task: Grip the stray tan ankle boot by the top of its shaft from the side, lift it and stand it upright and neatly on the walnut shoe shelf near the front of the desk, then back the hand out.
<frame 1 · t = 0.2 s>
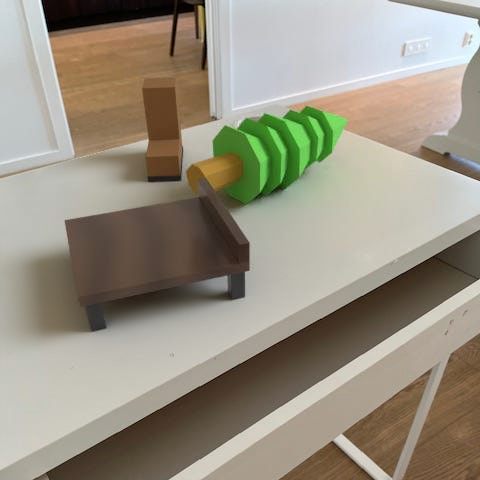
boot: (167, 157, 87), on the table
shoe shelf: (156, 275, 61), on the table
decorative tree: (279, 185, 79), on the table
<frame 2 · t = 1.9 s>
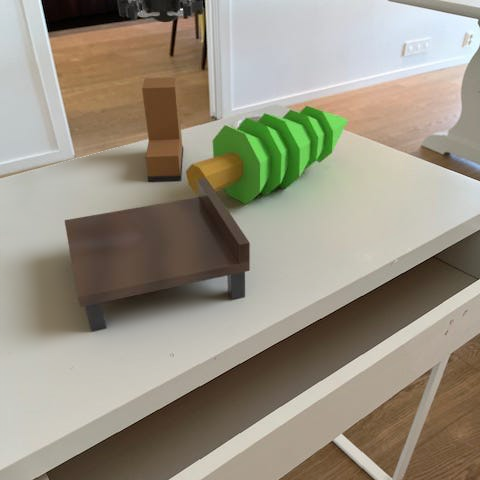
hand: (158, 12, 83), 19 cm above the table, tool horizontal, fingers open, 8 cm apart
nothing on the table moved.
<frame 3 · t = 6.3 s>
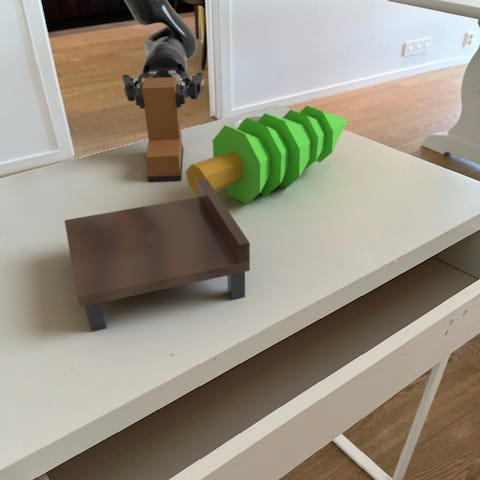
hand: (160, 101, 78), 10 cm above the table, tool horizontal, fingers closed on boot, 5 cm apart
boot: (167, 157, 87), on the table, touching gripper
everything else where it was.
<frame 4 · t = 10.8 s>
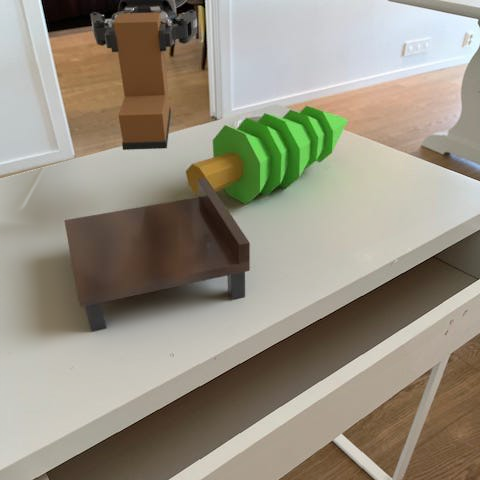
hand: (138, 42, 59), 22 cm above the table, tool horizontal, fingers closed on boot, 5 cm apart
boot: (150, 120, 68), point 12 cm above the table, touching gripper
everything else where it was.
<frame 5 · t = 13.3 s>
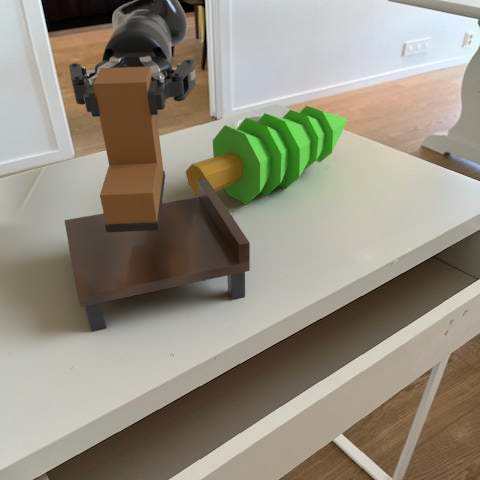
hand: (123, 105, 49), 20 cm above the table, tool horizontal, fingers closed on boot, 5 cm apart
boot: (140, 188, 58), point 10 cm above the table, touching gripper
everything else where it was.
when the fingers open (15 cm above the table, at t = 15.1 s): boot stays where it is, resting on shoe shelf.
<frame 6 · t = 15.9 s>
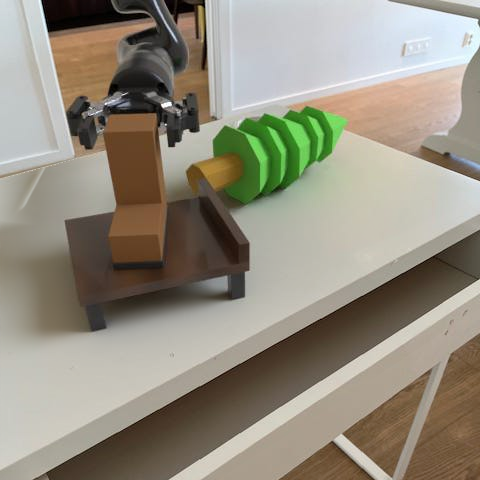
hand: (128, 139, 52), 16 cm above the table, tool horizontal, fingers open, 8 cm apart
boot: (145, 224, 61), point 5 cm above the table, touching shoe shelf
everything else where it was.
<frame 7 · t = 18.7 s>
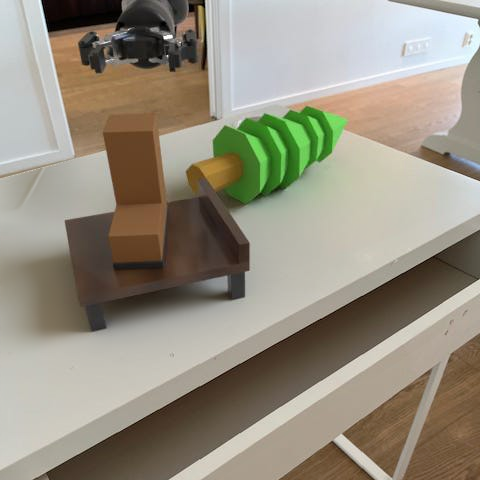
hand: (134, 63, 58), 20 cm above the table, tool horizontal, fingers open, 8 cm apart
nothing on the table moved.
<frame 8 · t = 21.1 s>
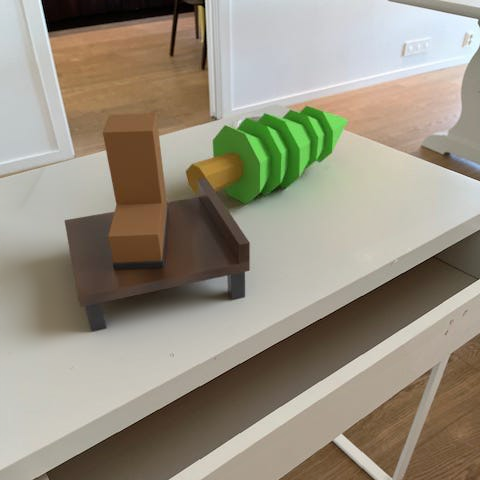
nothing on the table moved.
at the end: boot inside the target area on the shoe shelf (0.1 cm from its centre), point 5.0 cm above the shoe shelf's base; boot tilted 0°; the gripper is holding nothing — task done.
